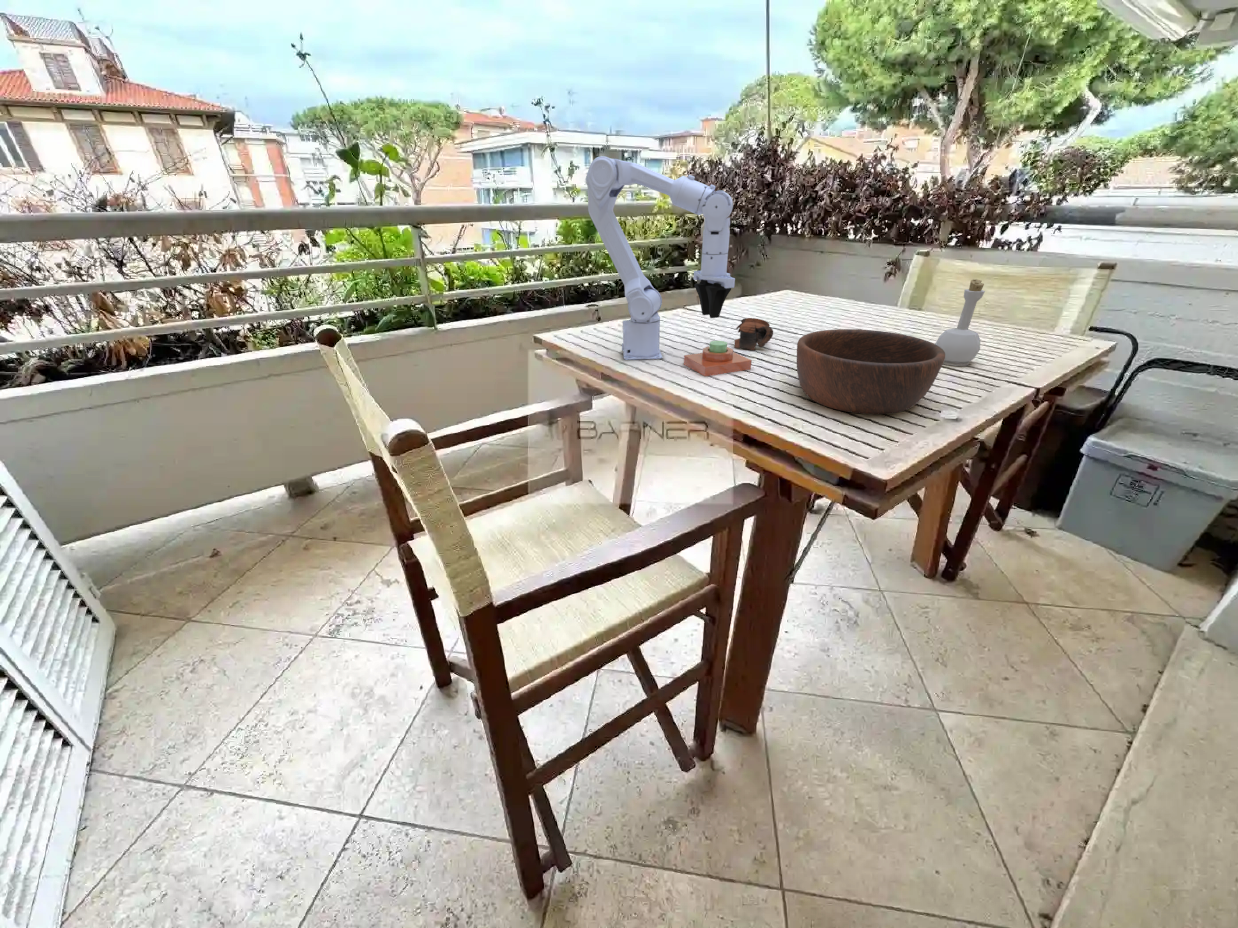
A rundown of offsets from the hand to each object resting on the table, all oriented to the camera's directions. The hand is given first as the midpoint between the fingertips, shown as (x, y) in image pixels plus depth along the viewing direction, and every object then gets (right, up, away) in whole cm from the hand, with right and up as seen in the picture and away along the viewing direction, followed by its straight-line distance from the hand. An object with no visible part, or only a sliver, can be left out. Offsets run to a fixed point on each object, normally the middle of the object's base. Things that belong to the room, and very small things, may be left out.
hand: (710, 316), depth 113 cm
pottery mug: (+14, -4, +14) cm, 20 cm away
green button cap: (+1, -9, -2) cm, 9 cm away
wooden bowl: (+25, -22, -18) cm, 38 cm away
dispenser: (+1, -12, 0) cm, 12 cm away
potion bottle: (+56, -11, 0) cm, 57 cm away
